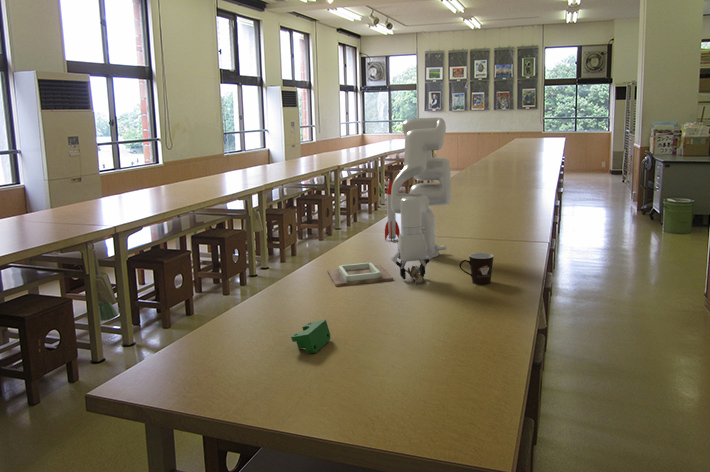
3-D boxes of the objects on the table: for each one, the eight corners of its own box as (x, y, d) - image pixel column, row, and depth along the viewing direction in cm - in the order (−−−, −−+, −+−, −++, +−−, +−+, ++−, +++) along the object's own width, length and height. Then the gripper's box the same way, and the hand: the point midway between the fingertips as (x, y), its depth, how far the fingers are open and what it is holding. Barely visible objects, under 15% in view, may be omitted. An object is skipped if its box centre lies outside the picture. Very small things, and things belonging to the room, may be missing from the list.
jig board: (380, 267, 230) (380, 260, 229) (393, 280, 211) (393, 272, 210) (327, 272, 226) (327, 265, 225) (335, 286, 207) (335, 278, 206)
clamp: (313, 355, 158) (310, 323, 161) (332, 352, 156) (328, 320, 158) (290, 355, 148) (287, 321, 150) (309, 352, 145) (306, 317, 148)
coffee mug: (494, 279, 206) (494, 253, 204) (492, 286, 198) (492, 258, 196) (462, 278, 209) (462, 252, 207) (459, 284, 202) (458, 257, 199)
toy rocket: (400, 240, 278) (398, 180, 272) (391, 242, 275) (389, 181, 269) (393, 238, 282) (391, 179, 276) (384, 240, 279) (382, 180, 273)
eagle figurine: (397, 277, 210) (406, 279, 202) (405, 260, 211) (414, 261, 202) (414, 286, 212) (423, 288, 203) (422, 269, 213) (432, 270, 204)
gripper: (430, 226, 212) (431, 272, 215) (386, 230, 208) (387, 276, 212) (437, 230, 204) (438, 277, 208) (391, 234, 201) (393, 282, 205)
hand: (412, 276), depth 210 cm, fingers closed on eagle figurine, 6 cm apart
